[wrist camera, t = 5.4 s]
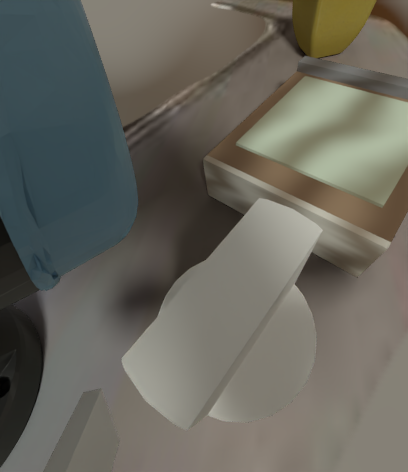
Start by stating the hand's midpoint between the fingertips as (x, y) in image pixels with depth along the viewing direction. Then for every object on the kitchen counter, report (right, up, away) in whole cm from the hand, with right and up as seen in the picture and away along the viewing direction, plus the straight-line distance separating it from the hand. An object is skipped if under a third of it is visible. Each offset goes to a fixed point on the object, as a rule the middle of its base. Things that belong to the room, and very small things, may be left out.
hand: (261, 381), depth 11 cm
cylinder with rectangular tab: (0, -2, +9) cm, 9 cm away
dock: (+10, +13, +17) cm, 24 cm away
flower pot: (+16, +36, +30) cm, 50 cm away
